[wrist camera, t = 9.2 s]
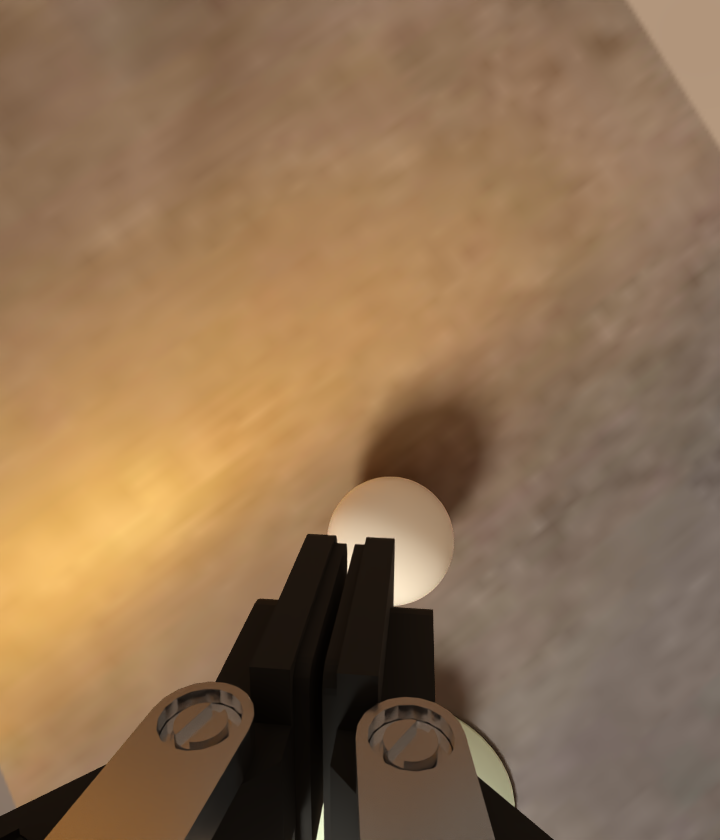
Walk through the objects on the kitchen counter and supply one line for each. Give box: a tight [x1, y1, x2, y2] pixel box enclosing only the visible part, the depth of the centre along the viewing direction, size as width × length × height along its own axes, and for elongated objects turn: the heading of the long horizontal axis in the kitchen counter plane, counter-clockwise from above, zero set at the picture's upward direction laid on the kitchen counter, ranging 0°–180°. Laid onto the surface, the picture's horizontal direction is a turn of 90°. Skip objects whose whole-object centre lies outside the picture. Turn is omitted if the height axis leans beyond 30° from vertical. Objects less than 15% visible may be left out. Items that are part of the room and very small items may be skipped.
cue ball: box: [328, 477, 454, 606], centre depth 26 cm, size 6×6×6 cm
